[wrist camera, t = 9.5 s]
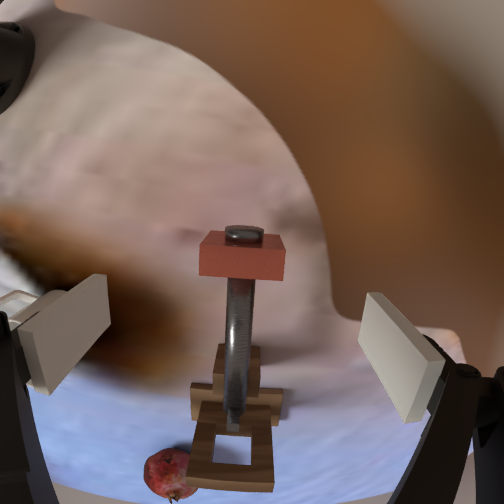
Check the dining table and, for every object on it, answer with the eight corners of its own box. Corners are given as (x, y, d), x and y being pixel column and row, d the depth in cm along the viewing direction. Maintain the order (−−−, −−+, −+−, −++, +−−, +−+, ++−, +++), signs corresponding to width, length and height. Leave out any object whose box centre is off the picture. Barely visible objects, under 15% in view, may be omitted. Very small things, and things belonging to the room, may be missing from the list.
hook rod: (211, 220, 30) (199, 233, 24) (280, 225, 30) (286, 238, 24) (208, 390, 34) (200, 428, 28) (263, 394, 34) (265, 433, 28)
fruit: (144, 460, 44) (129, 502, 34) (158, 431, 42) (142, 478, 32) (193, 479, 45) (185, 522, 35) (213, 452, 43) (206, 500, 33)
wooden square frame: (191, 382, 40) (169, 463, 26) (282, 389, 40) (292, 472, 26) (193, 414, 41) (174, 493, 27) (277, 420, 41) (284, 501, 27)
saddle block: (218, 343, 38) (212, 373, 32) (259, 346, 38) (260, 376, 32) (218, 364, 39) (212, 394, 33) (257, 366, 39) (258, 397, 33)
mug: (107, 318, 38) (66, 361, 27) (80, 357, 39) (43, 401, 28) (43, 257, 36) (-11, 283, 25) (22, 302, 38) (-25, 333, 27)
